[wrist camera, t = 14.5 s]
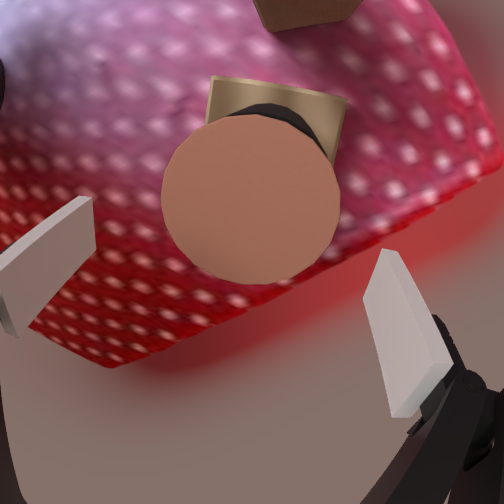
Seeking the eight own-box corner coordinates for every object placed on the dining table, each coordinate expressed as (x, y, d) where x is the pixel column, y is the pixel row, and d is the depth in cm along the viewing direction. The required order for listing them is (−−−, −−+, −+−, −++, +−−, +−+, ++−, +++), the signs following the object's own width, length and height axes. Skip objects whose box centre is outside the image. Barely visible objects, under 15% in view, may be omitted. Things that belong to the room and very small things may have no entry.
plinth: (203, 191, 41) (195, 201, 38) (217, 76, 34) (209, 74, 31) (317, 211, 41) (320, 224, 38) (343, 98, 34) (349, 98, 30)
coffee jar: (201, 134, 34) (127, 178, 18) (284, 84, 30) (281, 77, 15) (251, 211, 38) (223, 308, 22) (333, 169, 34) (370, 242, 18)
